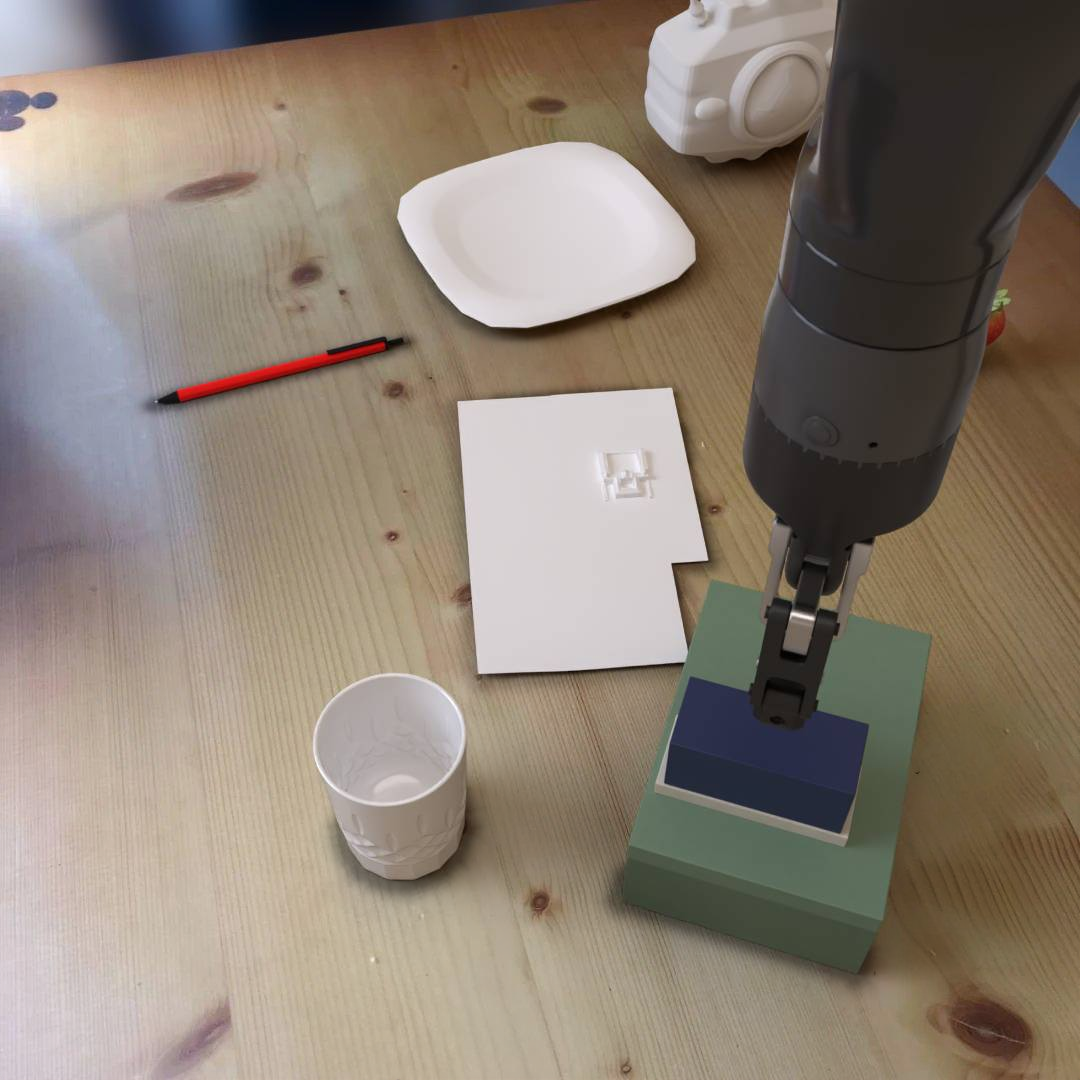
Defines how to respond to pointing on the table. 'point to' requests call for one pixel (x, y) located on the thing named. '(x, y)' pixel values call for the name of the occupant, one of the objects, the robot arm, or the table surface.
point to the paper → (577, 529)
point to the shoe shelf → (771, 853)
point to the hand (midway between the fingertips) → (797, 641)
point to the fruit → (997, 316)
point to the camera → (739, 75)
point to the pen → (282, 369)
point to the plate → (544, 235)
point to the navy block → (763, 764)
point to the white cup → (395, 772)
